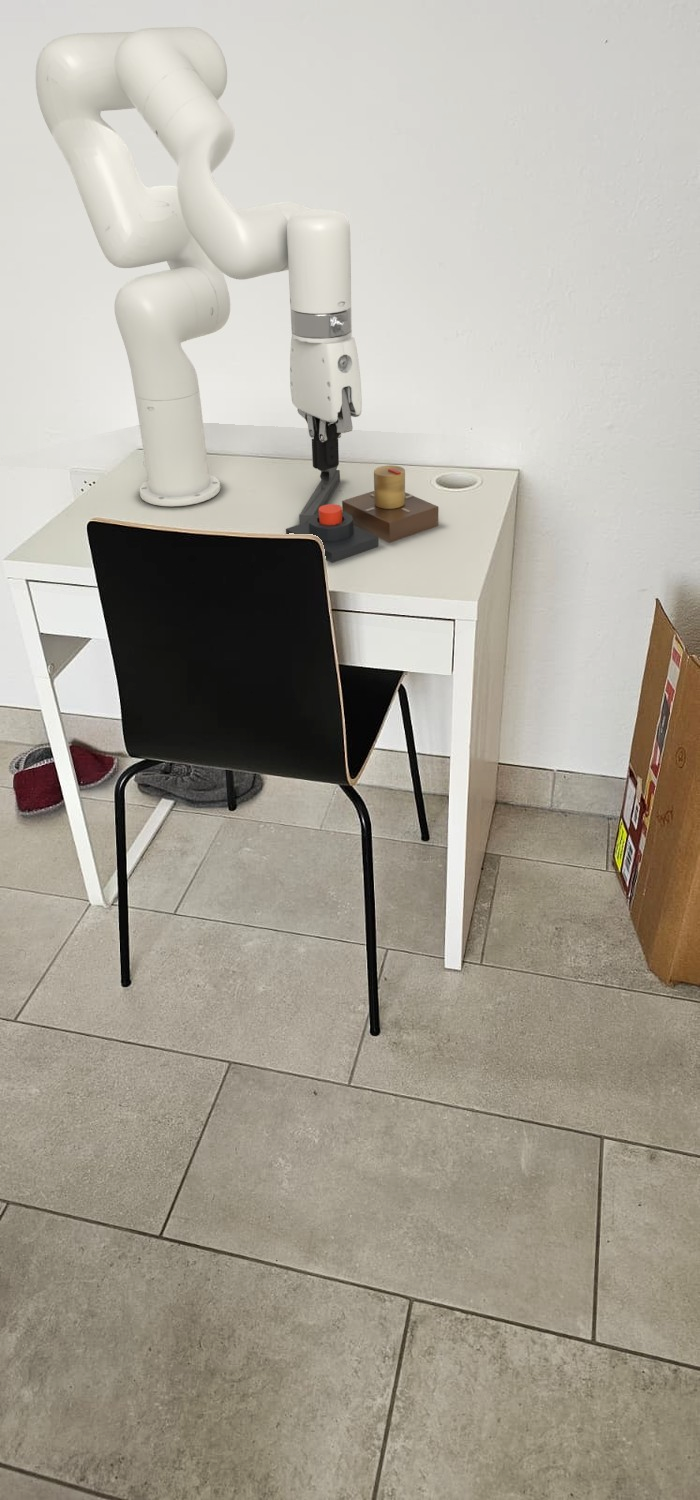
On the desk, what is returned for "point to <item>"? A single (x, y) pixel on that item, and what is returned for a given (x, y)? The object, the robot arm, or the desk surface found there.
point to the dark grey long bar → (321, 493)
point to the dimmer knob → (389, 487)
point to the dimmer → (391, 516)
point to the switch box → (338, 537)
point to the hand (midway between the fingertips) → (325, 466)
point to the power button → (330, 514)
